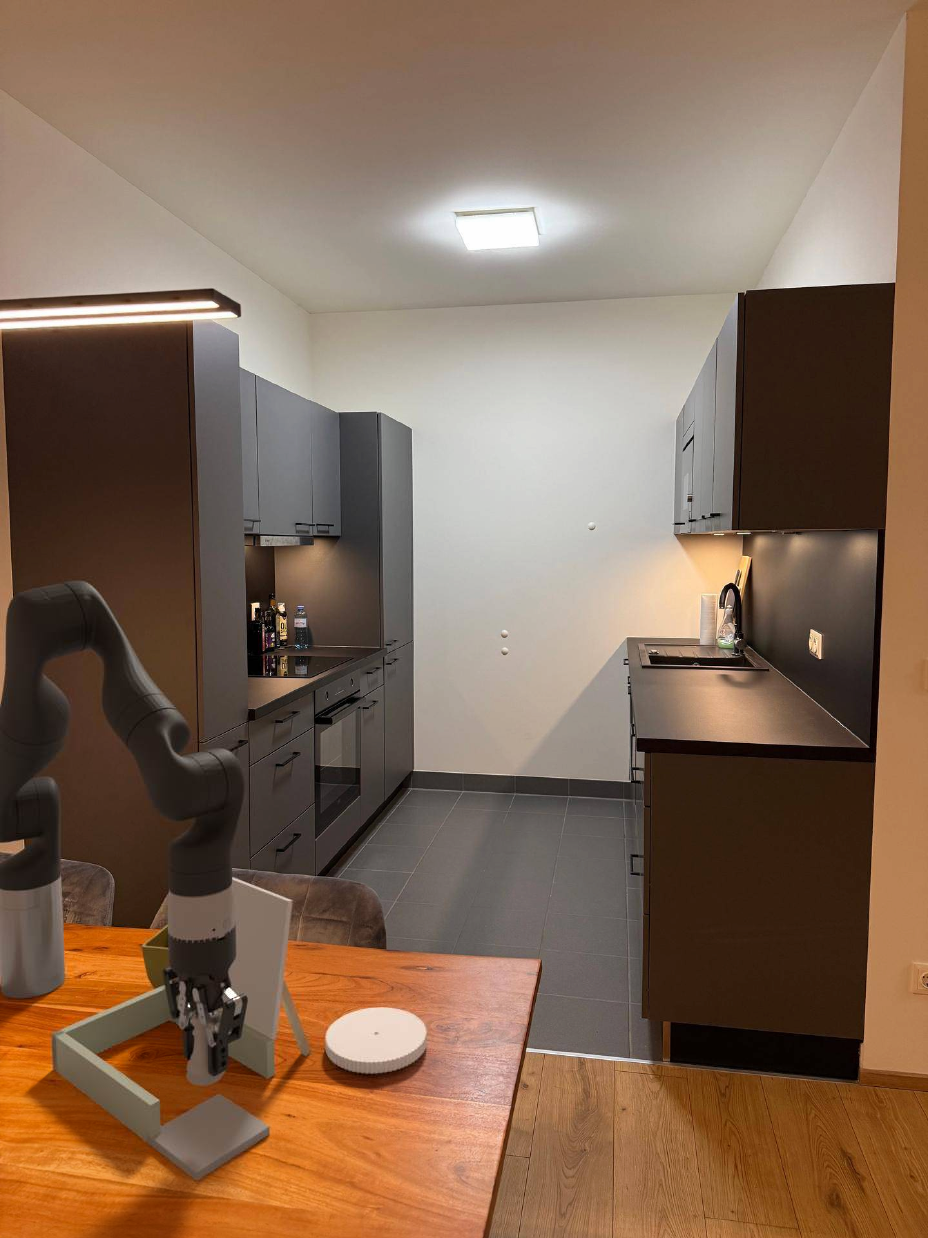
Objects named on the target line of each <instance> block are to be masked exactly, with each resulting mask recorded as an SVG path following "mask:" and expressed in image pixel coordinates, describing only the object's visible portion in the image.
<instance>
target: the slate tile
mask: <svg viewBox="0 0 928 1238" xmlns="http://www.w3.org/2000/svg"><path fill="white" fill-rule="evenodd" d="M270 1134H271V1133H270V1125H268V1124H266V1123H265V1122H263V1121H262V1120H261V1119H259V1118H258V1117H255V1116H254V1115H253V1114H252V1113H250V1112H248V1111H247V1110H245V1109H243V1108H242V1107H241V1106H239V1105H238V1104H236V1103H235V1102H233V1101H231V1100H230V1099H228V1098H227V1097H225V1096H223V1095H222V1094H220V1093H218V1094H216V1095H214V1096H212V1097H210V1098H208V1099H207V1100H205V1101H203V1102H201V1103H200V1104H198V1105H196V1106H195V1107H193V1108H191V1109H189V1110H188V1111H186V1112H184V1113H181V1114H180V1115H179V1116H176V1117H175V1118H173V1119H171V1120H169V1121H168V1122H166V1123H164V1124H162V1125H161V1133H159V1134H158V1135H156V1136H154V1137H152V1138H150V1137H149V1136H148V1135H147V1137H148V1138H147V1140H148V1142H146V1143H147V1144H149V1143H150V1144H149V1145H150V1146H151V1147H152V1148H154V1149H155V1150H156V1151H157V1152H159V1153H160V1154H161V1155H163V1156H164V1157H165V1158H166V1159H168V1160H169V1161H170V1162H172V1163H173V1164H174V1165H175V1166H177V1167H178V1168H179V1169H181V1170H182V1171H183V1172H184V1173H186V1174H187V1175H188V1176H189V1177H191V1178H192V1179H194V1180H195V1181H196V1182H197V1181H199V1180H201V1179H202V1178H204V1177H205V1176H207V1175H209V1174H210V1173H212V1172H213V1171H215V1170H216V1169H218V1168H219V1167H221V1166H222V1165H224V1164H225V1163H227V1162H229V1161H230V1160H232V1159H233V1158H235V1157H236V1156H238V1155H240V1154H241V1153H243V1152H244V1151H246V1150H247V1149H249V1148H251V1147H253V1146H254V1145H255V1144H257V1143H259V1142H260V1141H262V1140H263V1139H264V1138H266V1137H267V1136H269V1135H270ZM149 1140H150V1142H149Z"/></svg>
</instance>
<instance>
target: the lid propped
mask: <svg viewBox="0 0 928 1238" xmlns="http://www.w3.org/2000/svg"><path fill="white" fill-rule="evenodd" d="M232 884H233V891H234V897H235V920H236V958H235V960H234V962H233V963H232V965H231V966H230V968H229V971H228V973H229V978H230V981H231V990H232V991H233V992H234V993H235V994H236V995H237V996H239V995H241V994H245V995H246V996H247V998H248V1003H247V1008H246V1013H245V1019H244V1024H245V1025H247V1026H248V1027H250V1028H252V1029H254V1030H256V1031H258V1032H259V1033H261V1034H263V1035H265V1036H267V1037H268V1038H270V1039H274V1040H275V1039H277V1038H278V1037H277V1036H278V1029H279V1020H280V1013H281V1012H280V1011H281V1004H282V1002H281V996H282V987H283V979H284V978H285V977H284V975H285V971H286V969H285V968H286V960H287V959H286V958H287V954H288V944H289V943H288V942H289V934H290V929H291V928H290V926H291V919H292V918H291V916H292V911H293V910H292V909H293V899H290V898H287V897H285V896H282V895H280V894H277V893H275V892H272V891H269V890H268V889H267V890H266V889H264V888H262V887H259V886H256V885H254V884H252V883H249V882H247V881H243V880H242V879H239V878H236V877H233V876H232ZM284 980H285V979H284ZM218 1010H220V1008H219V1009H218Z"/></svg>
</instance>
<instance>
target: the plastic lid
mask: <svg viewBox="0 0 928 1238" xmlns="http://www.w3.org/2000/svg"><path fill="white" fill-rule="evenodd" d="M326 1030H327V1031H326V1032H325V1036H324V1037H325V1038H324V1039H325V1040H324V1041H325V1051H326V1053H325V1054H326V1055H327V1057H328V1059H329V1060H330V1061H331V1062H332V1063H333V1064H334V1065H337V1067H340V1068H341V1069H344V1070H348V1071H349V1072H353V1073H355V1072H356V1073H357V1074H358V1073H361V1074H383V1073H387V1072H392V1071H394V1072H395V1071H397V1070H400V1069H402V1068H405V1067H408V1066H409V1065H412V1063H415V1061H417V1060H418V1058H420V1057H421V1056H423V1054H424V1052H425V1051H426V1048H427V1045H428V1044H427V1041H428V1040H427V1039H428V1031H427V1027H426V1024H424V1021H423V1020H422V1019H420V1017H418V1016H417V1015H415V1014H414V1013H412V1012H409V1011H406V1010H404V1009H403V1010H402V1009H398V1008H395V1007H385V1006H384V1007H381V1006H380V1007H378V1006H377V1007H367V1008H362V1009H358V1010H354V1011H352V1012H350V1013H346V1014H344V1015H343V1016H340V1018H337V1019H336V1020H334V1022H332V1024H330V1025H329V1027H328V1029H326Z"/></svg>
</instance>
